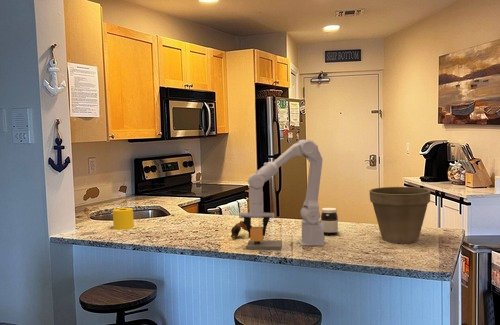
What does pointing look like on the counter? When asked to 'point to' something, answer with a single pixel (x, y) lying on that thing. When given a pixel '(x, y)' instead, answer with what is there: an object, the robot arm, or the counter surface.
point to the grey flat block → (264, 245)
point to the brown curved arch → (238, 229)
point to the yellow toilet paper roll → (123, 218)
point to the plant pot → (400, 212)
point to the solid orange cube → (256, 234)
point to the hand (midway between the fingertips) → (257, 235)
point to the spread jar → (329, 221)
